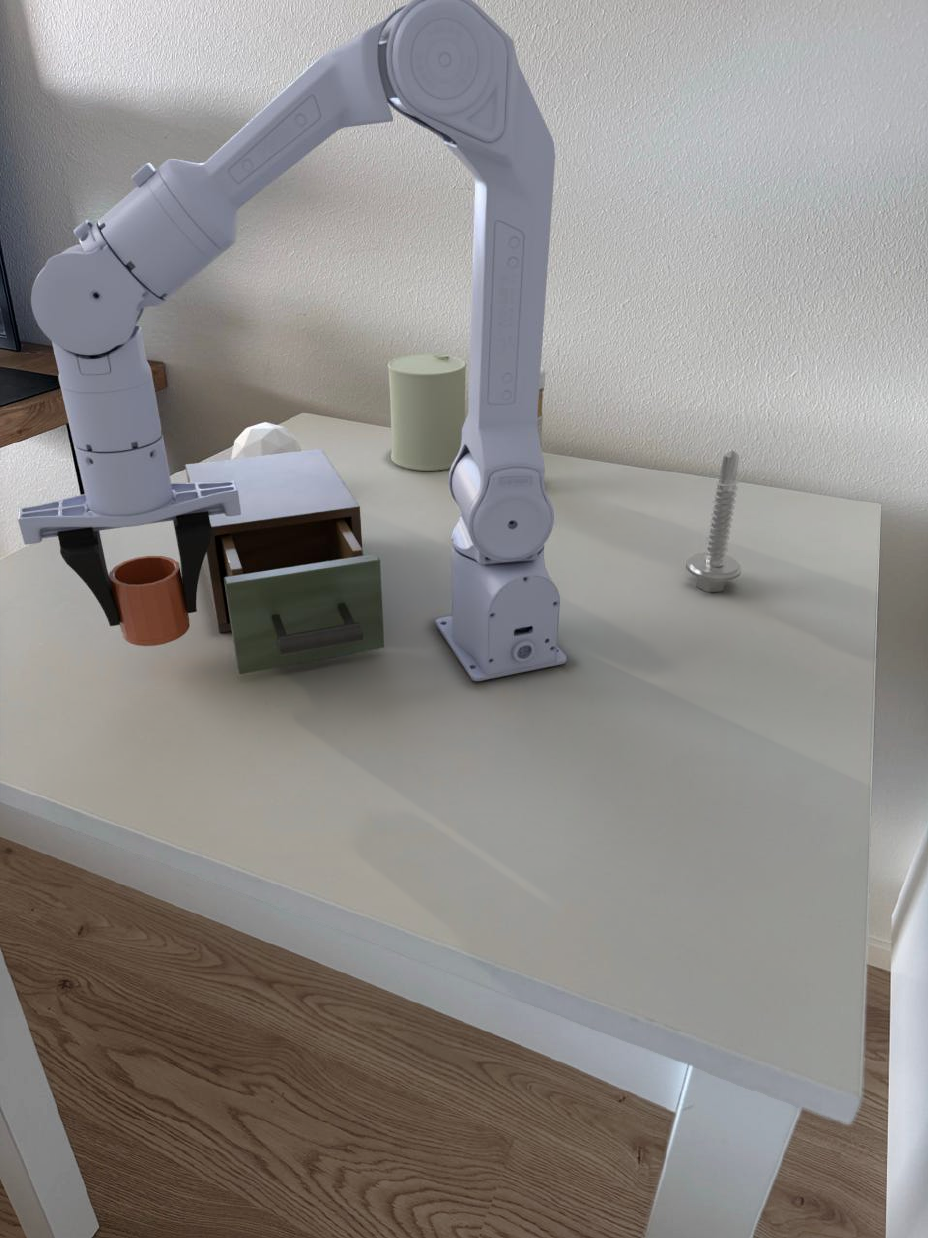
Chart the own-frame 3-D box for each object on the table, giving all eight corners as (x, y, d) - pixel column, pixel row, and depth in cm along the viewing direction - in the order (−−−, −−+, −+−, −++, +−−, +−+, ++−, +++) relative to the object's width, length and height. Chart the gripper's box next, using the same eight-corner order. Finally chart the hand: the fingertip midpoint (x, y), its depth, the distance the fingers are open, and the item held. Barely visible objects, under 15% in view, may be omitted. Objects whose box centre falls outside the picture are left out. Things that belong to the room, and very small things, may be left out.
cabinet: (366, 607, 79) (360, 506, 74) (219, 633, 75) (202, 528, 70) (328, 539, 91) (321, 448, 86) (200, 558, 87) (185, 464, 82)
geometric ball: (254, 513, 103) (213, 452, 102) (312, 476, 105) (272, 416, 104) (261, 504, 96) (217, 439, 94) (323, 465, 98) (281, 401, 97)
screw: (740, 578, 84) (734, 602, 80) (688, 569, 85) (679, 593, 82) (764, 444, 77) (759, 463, 73) (707, 437, 79) (698, 455, 75)
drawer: (401, 679, 68) (398, 588, 64) (248, 709, 65) (234, 615, 61) (344, 573, 83) (338, 493, 79) (217, 593, 79) (204, 511, 75)
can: (479, 453, 112) (481, 355, 106) (440, 476, 106) (439, 374, 99) (417, 439, 116) (415, 345, 110) (376, 462, 110) (371, 362, 103)
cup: (193, 639, 67) (182, 580, 65) (123, 651, 66) (110, 591, 63) (186, 608, 71) (176, 551, 69) (121, 619, 70) (108, 561, 67)
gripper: (220, 409, 66) (243, 573, 73) (5, 432, 62) (51, 604, 69) (234, 440, 61) (257, 615, 68) (-3, 467, 56) (48, 651, 63)
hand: (153, 612), depth 68 cm, fingers closed on cup, 5 cm apart
